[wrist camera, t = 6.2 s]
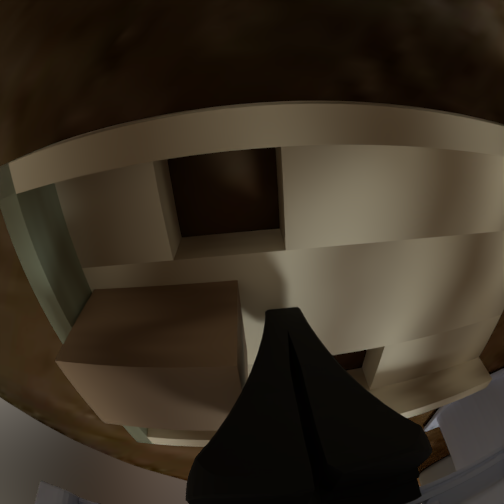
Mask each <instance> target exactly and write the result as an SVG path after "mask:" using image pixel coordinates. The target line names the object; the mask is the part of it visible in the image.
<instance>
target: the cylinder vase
mask: <svg viewBox="0 0 504 504" xmlns="http://www.w3.org/2000/svg"><path fill="white" fill-rule="evenodd" d="M455 471H456V469H455V466H454V463H453V461H452V458H451V455H449V456H447V457H445V458H443V459H441V460H439V461H438V462H436V463H434V464H432V465H431V466H429V467H428V468H426V469H425V470H423V471H422V472H421V473H420V475H419V480H420V483H421V486H423V485H426V484H428V483H431V482H433V481H435V480H438V479H440V478H442V477H444V476H447V475H449V474H451V473H453V472H455Z"/></svg>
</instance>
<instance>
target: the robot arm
mask: <svg viewBox="0 0 504 504" xmlns="http://www.w3.org/2000/svg"><path fill="white" fill-rule="evenodd" d="M490 376H491V378H492V380H491V382H490V383H489V384H488V386H487V387H486V388H484V389H482V390H480V391H478V392H476V393H473V394H471V395H469V396H467V397H464V398H462V399H459V400H457V401H455V402H452V403H449V404H447V405H444V406H442V407H439V409H438V410H437V412H436V413H435V414H434V416H433V417H432V418H431V419H430V421H429V422H428V423H427V425H426V426H425V427H424V431H429V430H431V429H434V428H437V427H440V429H441V432H442V434H443V437H444V439H445V442H446V445H447V447H448V450H449V452H450V455H451V458H452V461H453V463H454V466H455V469H456V471H455V472H453V473H451V474H449V475H447V476H444V477H442V478H440V479H438V480H435V481H433V482H431V483H428V484H426V485H423V486H421V487H419V485H418V481H417V478H418V477H419V471H418V468H417V467H418V466H420V465H421V464H422V463H423V462H424V461H425V460H426V459H427V458H428V457H429V456H430V455H431V453H432V448H431V445H430V442H429V440H428V438H427V436H426V434H425V432H424V431H423V429H422V427H421V426H420V425H418V424H416V423H414V422H413V421H411V420H409V419H407V418H406V417H404V416H402V415H401V414H399V413H397V412H396V411H394V410H393V409H391V408H390V407H389V406H387V405H386V404H384V403H383V402H382V401H380V400H379V399H378V398H376V397H375V396H374V395H373V394H371V393H370V392H369V391H367V390H366V389H365V388H364V387H363V386H362V385H361V384H359V383H358V382H357V381H356V380H355V379H354V378H353V377H352V376H351V375H350V374H349V373H348V372H347V371H346V370H345V369H344V368H343V367H342V366H341V365H340V364H339V363H338V361H337V360H336V359H335V358H334V357H333V356H332V355H331V353H330V352H329V351H328V350H327V348H326V347H325V346H324V344H323V343H322V342H321V341H320V339H319V338H318V337H317V335H316V334H315V332H314V331H313V329H312V328H311V326H310V325H309V323H308V322H307V320H306V318H305V317H304V315H303V313H302V311H301V309H300V308H299V307H290V308H280V309H269V310H267V311H266V312H265V324H264V330H263V335H262V339H261V343H260V346H259V350H258V353H257V356H256V359H255V361H254V364H253V367H252V370H251V372H250V374H249V377H248V379H247V381H246V383H245V385H244V387H243V390H242V392H241V393H240V395H239V397H238V399H237V401H236V403H235V404H234V406H233V408H232V409H231V411H230V413H229V414H228V416H227V417H226V419H225V420H224V422H223V423H222V425H221V426H220V428H219V429H218V430H217V432H216V433H215V435H214V436H213V437H212V438H211V440H210V441H209V442H208V443H207V445H206V446H205V447H204V448H203V449H202V450H201V452H200V453H199V454H198V455H197V456H196V458H195V460H194V463H193V465H192V467H191V470H190V473H189V476H188V481H187V488H186V501H187V502H188V503H189V504H421V503H422V504H504V368H503V369H501V370H499V371H497V372H494V373H492V374H490ZM35 504H99V503H95V502H92V501H89V500H86V499H83V498H79V497H78V496H77V495H75V494H73V493H71V492H69V491H67V490H65V489H62V488H60V487H57V486H54V485H52V484H49V483H47V482H44V481H40V484H39V488H38V492H37V496H36V500H35Z"/></svg>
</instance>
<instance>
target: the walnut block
mask: <svg viewBox="0 0 504 504" xmlns="http://www.w3.org/2000/svg"><path fill="white" fill-rule="evenodd" d="M55 361H56V363H57V364H58V366H59V367H60V369H61V370H62V371H63V373H64V374H65V375H66V377H67V378H68V380H69V381H70V382H71V384H72V385H73V386H74V387H75V389H76V390H77V391H78V393H79V394H80V395H81V396H82V398H83V399H84V400H85V401H86V402H87V404H88V405H89V406H90V407H91V408H92V410H93V411H94V412H95V413H96V414H97V415H98V417H99V418H100V419H101V420H102V421H103V422H104V423H109V424H117V425H124V426H133V427H143V428H154V429H169V430H195V431H217V430H218V429H219V428H220V426H221V425H222V423H223V422H224V420H225V419H226V417H227V416H228V414H229V413H230V411H231V409H232V408H233V406H234V404H235V403H236V401H237V399H238V397H239V395H240V393H241V392H242V390H243V387H244V385H245V383H246V381H247V379H248V358H247V346H246V339H245V332H244V325H243V317H242V310H241V302H240V295H239V287H238V280H232V281H220V282H206V283H193V284H178V285H163V286H147V287H130V288H112V289H94V291H93V293H92V294H91V296H90V298H89V299H88V301H87V303H86V304H85V306H84V308H83V310H82V311H81V313H80V315H79V316H78V318H77V320H76V322H75V324H74V325H73V327H72V329H71V331H70V333H69V335H68V336H67V338H66V340H65V342H64V344H63V346H62V348H61V350H60V352H59V354H58V356H57V358H56V360H55Z"/></svg>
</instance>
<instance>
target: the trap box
mask: <svg viewBox="0 0 504 504" xmlns="http://www.w3.org/2000/svg"><path fill="white" fill-rule="evenodd" d="M270 147H275V150H276V166H277V184H278V202H279V223H280V229H268V230H257V231H245V232H234V233H223V234H213V235H202V236H192V237H182V236H181V231H180V226H179V221H178V216H177V211H176V206H175V201H174V195H173V190H172V184H171V178H170V172H169V166H168V160H167V159H171V158H178V157H185V156H192V155H199V154H207V153H216V152H225V151H234V150H245V149H257V148H270ZM0 208H1V211H2V214H3V217H4V220H5V223H6V226H7V229H8V232H9V235H10V237H11V240H12V243H13V245H14V248H15V250H16V253H17V255H18V258H19V260H20V262H21V265H22V267H23V269H24V272H25V274H26V276H27V278H28V280H29V282H30V285H31V287H32V289H33V291H34V293H35V295H36V297H37V299H38V301H39V303H40V305H41V307H42V308H43V310H44V312H45V314H46V316H47V318H48V320H49V321H50V323H51V325H52V327H53V328H54V330H55V332H56V333H57V335H58V337H59V339H60V340H61V342H62V343H63V344H64V342H65V340H66V338H67V336H68V335H69V333H70V331H71V329H72V327H73V325H74V324H75V322H76V320H77V318H78V316H79V315H80V313H81V311H82V310H83V308H84V306H85V304H86V303H87V301H88V299H89V298H90V296H91V294H92V293H93V291H94V289H112V288H130V287H147V286H163V285H178V284H193V283H206V282H220V281H232V280H238V287H239V295H240V302H241V310H242V317H243V325H244V332H245V339H246V346H247V358H248V377H249V374H250V372H251V370H252V367H253V364H254V361H255V359H256V356H257V353H258V350H259V346H260V343H261V339H262V335H263V330H264V324H265V312H266V311H267V310H269V309H280V308H290V307H299V308H300V309H301V311H302V313H303V315H304V317H305V318H306V320H307V322H308V323H309V325H310V326H311V328H312V329H313V331H314V332H315V334H316V335H317V337H318V338H319V339H320V341H321V342H322V343H323V344H324V346H325V347H326V348H327V350H328V351H329V352H330V353H331V355H338V354H344V353H350V352H356V351H362V350H367V351H366V355H365V358H364V362H363V365H362V368H357V369H352V370H346V371H347V372H348V373H349V374H350V375H351V376H352V377H353V378H354V379H355V380H356V381H357V382H358V383H359V384H361V385H362V386H363V387H364V388H365V389H366V390H367V391H369V392H370V393H371V394H373V395H374V396H375V397H376V398H378V399H379V400H380V401H382V402H383V403H384V404H386V405H387V406H389V407H390V408H391V409H393V410H394V411H396V412H397V413H399V414H401V415H402V416H404V417H406V418H409V417H413V416H416V415H419V414H422V413H425V412H428V411H431V410H433V409H436V408H439V407H442V406H444V405H447V404H449V403H452V402H455V401H457V400H459V399H462V398H464V397H467V396H469V395H471V394H473V393H476V392H478V391H480V390H482V389H484V388H486V387H487V386H488V384H489V383H490V382H491V380H492V378H491V376H490V374H489V373H488V371H487V369H486V368H485V366H484V364H483V363H482V361H481V360H480V358H479V356H480V354H481V353H482V351H483V349H484V347H485V345H486V344H487V342H488V340H489V338H490V336H491V334H492V332H493V330H494V328H495V327H496V324H497V322H498V320H499V318H500V316H501V314H502V312H503V310H504V124H501V123H498V122H494V121H490V120H486V119H481V118H477V117H472V116H468V115H463V114H458V113H452V112H447V111H441V110H435V109H428V108H421V107H413V106H405V105H396V104H385V103H372V102H355V101H278V102H261V103H247V104H236V105H227V106H218V107H210V108H202V109H195V110H188V111H182V112H176V113H170V114H165V115H159V116H154V117H149V118H144V119H140V120H135V121H131V122H126V123H122V124H118V125H114V126H110V127H106V128H103V129H99V130H95V131H92V132H88V133H85V134H81V135H78V136H75V137H72V138H68V139H65V140H62V141H59V142H56V143H53V144H51V145H48V146H46V147H43V148H41V149H38V150H36V151H33V152H31V153H28V154H26V155H24V156H22V157H19V158H17V159H15V160H13V161H10V162H8V163H6V164H4V165H2V166H0ZM123 426H124V425H123ZM124 428H125V429H126V430H127V431H128V432H129V433H130V434H131V435H132V437H133V438H134V439H135V440H136V441H137V442H141V443H150V444H161V445H175V446H200V447H205V446H206V445H207V443H208V442H209V441H210V440H211V438H212V437H213V436H214V435H215V433H216V432H217V431H195V430H169V429H154V428H143V427H133V426H124Z"/></svg>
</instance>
